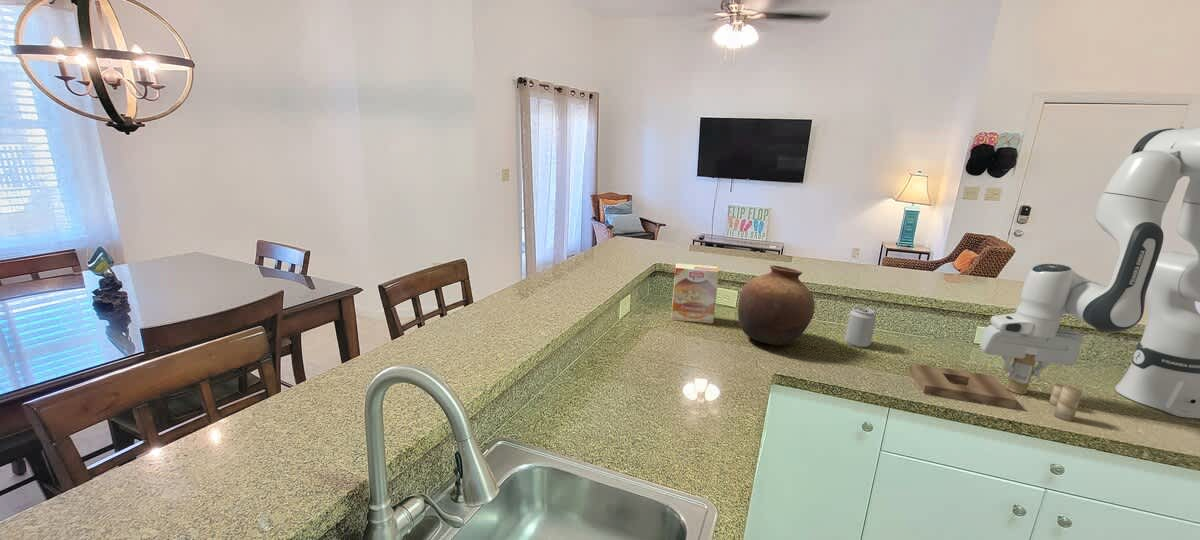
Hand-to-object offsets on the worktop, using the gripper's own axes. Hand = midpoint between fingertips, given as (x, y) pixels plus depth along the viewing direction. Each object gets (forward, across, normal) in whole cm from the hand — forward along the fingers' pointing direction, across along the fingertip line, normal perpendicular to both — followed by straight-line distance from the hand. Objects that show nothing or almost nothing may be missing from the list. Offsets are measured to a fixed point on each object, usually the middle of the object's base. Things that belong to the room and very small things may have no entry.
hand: (1020, 373), depth 129 cm
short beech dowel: (+5, -7, +5) cm, 10 cm away
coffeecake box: (+5, +90, -19) cm, 92 cm away
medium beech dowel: (+5, -5, +12) cm, 14 cm away
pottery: (+5, +63, -9) cm, 64 cm away
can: (+5, +36, -18) cm, 41 cm away
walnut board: (+5, +15, +5) cm, 17 cm away
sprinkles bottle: (+5, 0, 0) cm, 5 cm away
